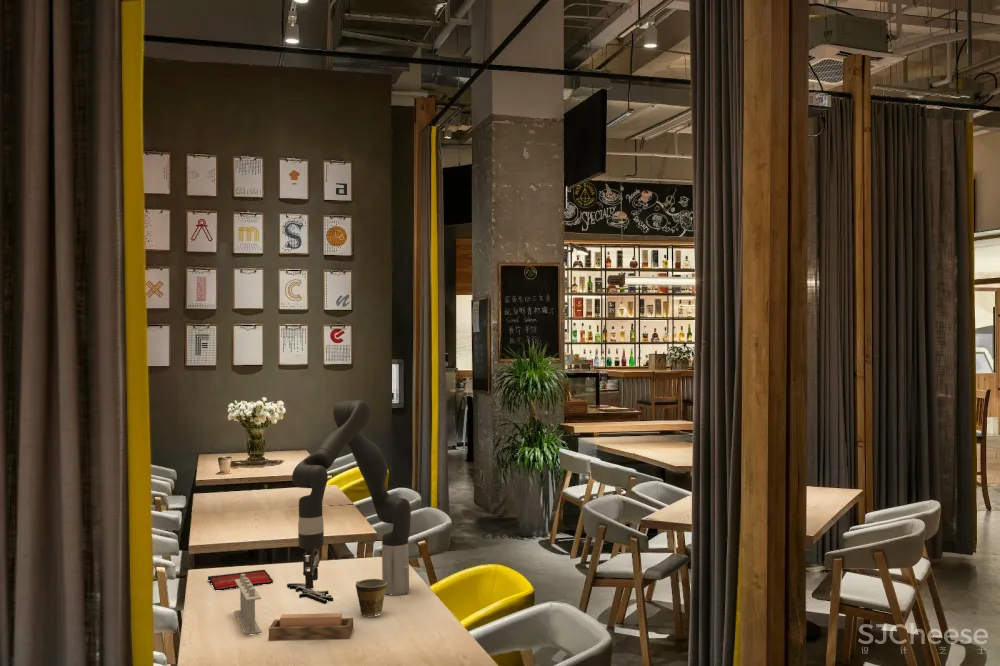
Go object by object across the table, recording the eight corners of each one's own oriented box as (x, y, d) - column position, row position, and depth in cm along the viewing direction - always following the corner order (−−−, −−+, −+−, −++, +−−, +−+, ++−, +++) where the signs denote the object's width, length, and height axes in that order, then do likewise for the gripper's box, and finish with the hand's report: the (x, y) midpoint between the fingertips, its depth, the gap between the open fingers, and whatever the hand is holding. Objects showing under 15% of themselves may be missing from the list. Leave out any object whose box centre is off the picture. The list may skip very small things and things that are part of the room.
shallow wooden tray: (353, 628, 273) (353, 617, 273) (349, 638, 264) (349, 627, 264) (275, 630, 272) (274, 619, 272) (268, 640, 263) (268, 628, 263)
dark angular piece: (277, 586, 317) (301, 580, 323) (277, 590, 317) (301, 584, 323) (318, 602, 297) (343, 596, 304) (318, 606, 297) (343, 600, 304)
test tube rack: (261, 634, 269) (261, 590, 269) (246, 636, 267) (246, 592, 267) (248, 611, 292) (248, 571, 292) (234, 613, 290) (234, 572, 290)
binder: (207, 575, 328) (264, 568, 338) (207, 581, 328) (264, 574, 338) (215, 588, 314) (274, 580, 324) (215, 594, 314) (274, 586, 324)
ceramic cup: (393, 613, 288) (393, 582, 288) (369, 620, 280) (368, 589, 280) (368, 605, 296) (367, 575, 296) (344, 612, 289) (343, 581, 289)
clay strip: (342, 627, 270) (341, 613, 270) (340, 631, 266) (340, 616, 266) (282, 629, 269) (282, 614, 269) (280, 633, 266) (280, 618, 266)
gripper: (319, 535, 261) (320, 590, 261) (327, 525, 275) (327, 577, 275) (293, 536, 261) (294, 591, 261) (302, 525, 275) (303, 577, 275)
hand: (311, 584), depth 268 cm, fingers open, 8 cm apart
